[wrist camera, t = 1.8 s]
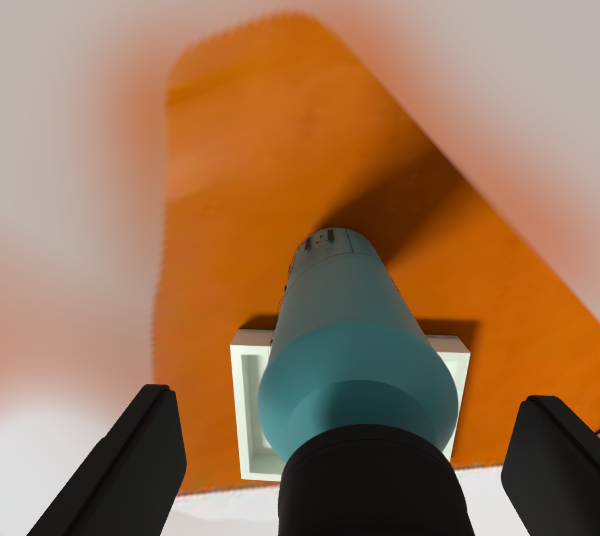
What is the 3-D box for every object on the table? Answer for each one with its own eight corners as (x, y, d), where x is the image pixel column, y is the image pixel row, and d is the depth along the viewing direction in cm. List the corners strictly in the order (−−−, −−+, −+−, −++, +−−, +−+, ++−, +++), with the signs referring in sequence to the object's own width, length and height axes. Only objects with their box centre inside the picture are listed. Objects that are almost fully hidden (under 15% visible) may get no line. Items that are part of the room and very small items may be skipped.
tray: (456, 335, 26) (470, 353, 23) (434, 465, 30) (443, 491, 28) (238, 328, 27) (230, 345, 24) (247, 454, 31) (241, 478, 29)
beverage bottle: (335, 201, 23) (394, 384, 4) (396, 263, 24) (670, 631, 5) (275, 263, 25) (121, 590, 6) (335, 317, 26) (370, 739, 7)
